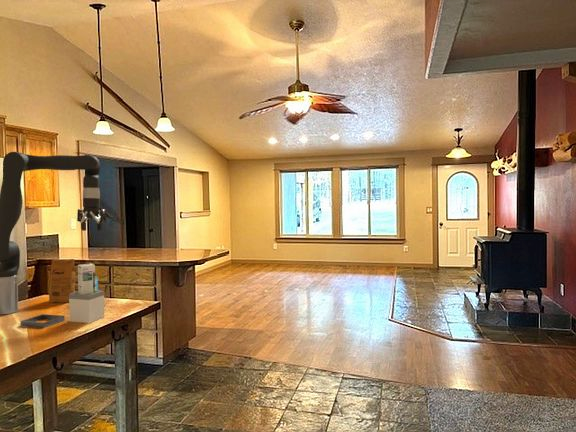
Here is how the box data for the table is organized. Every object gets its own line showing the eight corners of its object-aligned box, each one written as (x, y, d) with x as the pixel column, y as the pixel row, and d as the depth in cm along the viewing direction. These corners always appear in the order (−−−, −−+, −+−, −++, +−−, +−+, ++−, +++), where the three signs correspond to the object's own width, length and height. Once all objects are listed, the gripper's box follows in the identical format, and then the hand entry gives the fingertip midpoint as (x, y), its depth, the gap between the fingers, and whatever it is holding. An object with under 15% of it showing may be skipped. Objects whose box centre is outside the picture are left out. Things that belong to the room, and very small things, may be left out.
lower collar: (20, 325, 178) (20, 321, 178) (42, 318, 190) (42, 314, 189) (43, 327, 176) (43, 323, 176) (64, 320, 187) (64, 315, 187)
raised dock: (69, 321, 185) (69, 294, 185) (85, 315, 195) (85, 289, 195) (89, 323, 183) (88, 295, 183) (104, 316, 193) (104, 290, 192)
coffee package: (53, 299, 227) (52, 258, 226) (78, 298, 229) (77, 257, 228) (45, 303, 217) (45, 260, 216) (71, 302, 219) (71, 260, 218)
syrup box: (81, 298, 185) (81, 265, 184) (78, 296, 189) (77, 264, 189) (95, 297, 188) (95, 264, 188) (91, 294, 193) (91, 262, 192)
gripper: (73, 197, 203) (73, 231, 204) (98, 197, 200) (99, 231, 200) (84, 197, 210) (84, 230, 211) (109, 197, 207) (109, 230, 208)
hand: (91, 230), depth 206 cm, fingers open, 8 cm apart
